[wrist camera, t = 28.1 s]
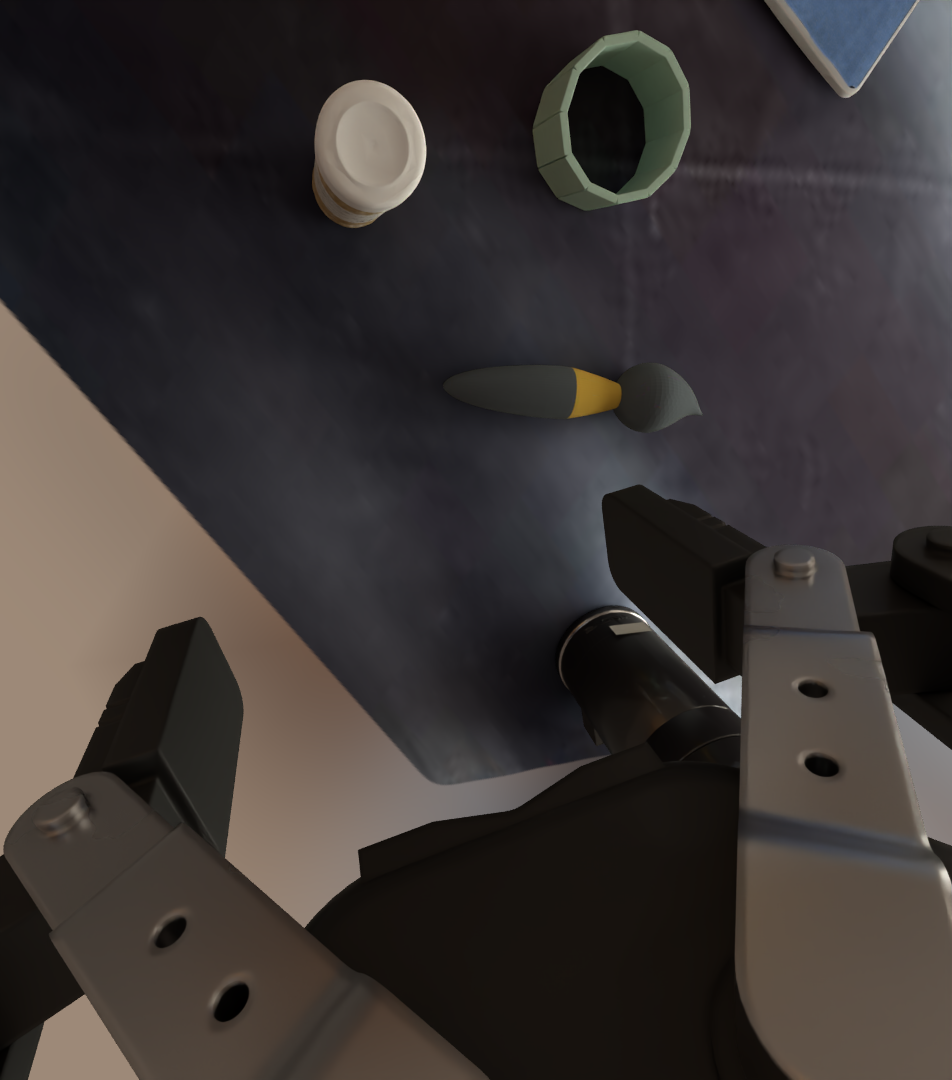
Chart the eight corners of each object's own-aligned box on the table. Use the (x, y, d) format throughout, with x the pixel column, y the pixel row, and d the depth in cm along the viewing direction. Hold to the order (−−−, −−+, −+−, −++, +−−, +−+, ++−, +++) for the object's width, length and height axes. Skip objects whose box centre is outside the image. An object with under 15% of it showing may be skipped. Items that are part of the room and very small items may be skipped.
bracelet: (655, 195, 41) (693, 187, 37) (544, 220, 40) (570, 214, 36) (646, 47, 38) (687, 20, 34) (524, 70, 36) (551, 45, 32)
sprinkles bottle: (376, 136, 36) (414, 67, 24) (395, 222, 38) (439, 197, 26) (300, 150, 35) (300, 86, 23) (323, 236, 37) (334, 218, 25)
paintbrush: (440, 434, 44) (456, 452, 39) (438, 364, 42) (455, 374, 37) (680, 421, 49) (718, 435, 44) (689, 357, 47) (730, 365, 42)
